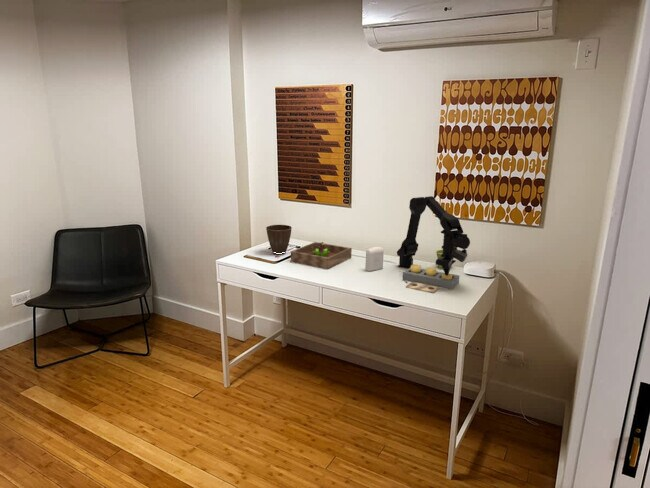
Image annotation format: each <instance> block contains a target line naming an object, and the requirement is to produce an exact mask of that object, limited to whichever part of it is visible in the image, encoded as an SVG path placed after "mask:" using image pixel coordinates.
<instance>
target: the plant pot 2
mask: <svg viewBox="0 0 650 488" xmlns="http://www.w3.org/2000/svg"><path fill="white" fill-rule="evenodd" d="M442 253H443V249H439V250H436V251H435V254H436V257H437V259H438V258H440V257H441V254H442ZM442 258H444V257H442ZM437 259H436V260H437ZM437 267H438V269H443V268H442V266H441V265H437Z"/></svg>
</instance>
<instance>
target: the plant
mask: <svg viewBox="0 0 650 488" xmlns="http://www.w3.org/2000/svg"><path fill="white" fill-rule="evenodd" d="M319 243H320V245H321V248H319V247H318V246H312V249H313V248H314V247H317V248H318V249H317V248H316V250H315V251H313V252H312V253H307V254H311V255H317V256H322V257H327V258H328V257H330V256H332V255H334V254H335V253H331V252H330V251H328V252H327V250H328V249H327V248H326V249H324V250H323V247H322V246H324V242H323V241H322V242H319Z"/></svg>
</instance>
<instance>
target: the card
mask: <svg viewBox="0 0 650 488" xmlns="http://www.w3.org/2000/svg"><path fill="white" fill-rule="evenodd" d="M405 288H406V289H410V290H415V291H419V292H420V291H421V292H424V293H425V292H426V293H431V294H435V293H436V292H437V291H439V290H440V287H437V286H432V285H427V284H422V283H417V282H409V283H408V284H406V286H405Z"/></svg>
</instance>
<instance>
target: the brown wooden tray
mask: <svg viewBox="0 0 650 488" xmlns="http://www.w3.org/2000/svg"><path fill="white" fill-rule="evenodd" d="M320 243H321V242H317V241H314V242H312V243H309V244H306V245H304V246H301V247H298V248H296V249H294V250H291V251H290V263H294V264H301V265H304V266H309V267H315V268H321V269H324V270H330V269H332V268H334V267H337V266H338V265H340V264H343V263H344V262H346V261H348V260H351V259H352V247H349V246H348V247H347V246H346V247H345V246H341V245H336V244H329V243H324V242H323V243H324V246H322V247H323V250H324V249H326V248H327V249H328V250H327V252H328V251H330V252H331V253H335V254H334V255H332V256H330V257H328V258H327V257H322V256H317V255H311V254H307V253H312V252H313V251H315V250H316V248H317V247H314V248H313V249H312V246H318V247H319V248H321V245H320ZM317 249H318V248H317Z"/></svg>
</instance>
